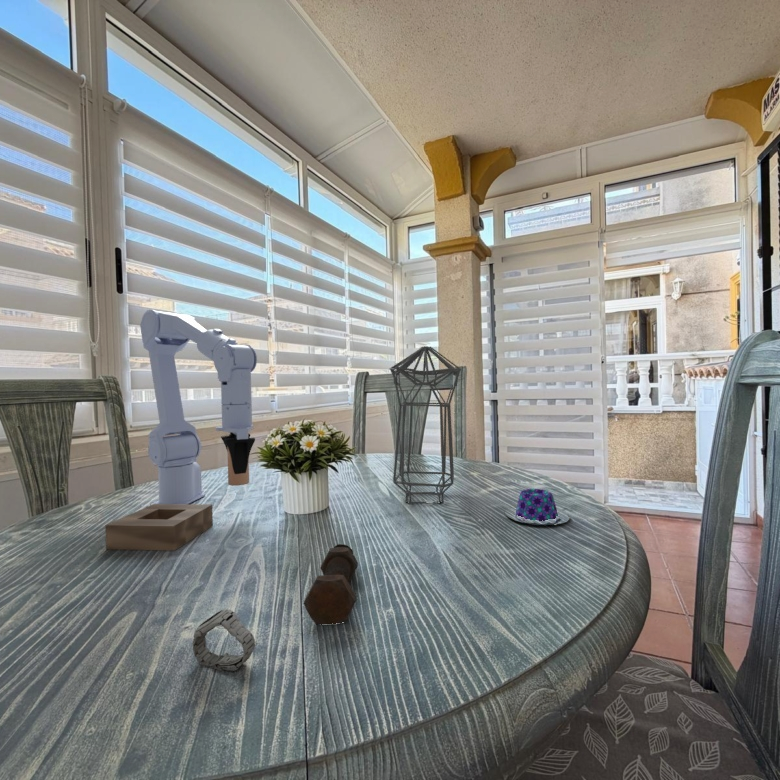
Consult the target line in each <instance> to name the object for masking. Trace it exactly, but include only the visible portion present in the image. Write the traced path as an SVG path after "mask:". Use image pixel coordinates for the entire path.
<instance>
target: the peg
mask: <svg viewBox="0 0 780 780" xmlns="http://www.w3.org/2000/svg"><path fill="white" fill-rule="evenodd" d="M226 452H227V453H226V454H227V481H228V483H227V484H228V486H234V487H236V486H237V487H238V486H245V485H247V484H249V483H250V459H248V465H247V470H246V473H241V474H235V473H234V470H233V466H232V461H231V456H230V452H229V449H228V447H227V449H226Z"/></svg>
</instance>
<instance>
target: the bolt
mask: <svg viewBox="0 0 780 780" xmlns="http://www.w3.org/2000/svg"><path fill="white" fill-rule="evenodd" d="M322 561H323V562H321V565H320V571H321V572H322V574H323V575H316V578H315V579H314V581H313V584H312V585H311V587H310V589H309V591H308V593H307V595H306V596H305V598H304V600H303V605H304V607H305V609H306V612H307V613H308V616H309V617H310V618H311V620H312V621H313V623H314V624H316V625H318V624H321V625H320V626H323V625H322V624H332V623H333V624H336V623H342V622H345V623H346V622H347V620H348V618H349V616H350V615H351V613H352V610H353V609H354V606H355V604H356V602H357V597H358V596H357V595H356V593H355V592H354V590H353V589H352V586H351V585H350V582H351V580H352V579H353V577H354V575H355V573H356V570H357V569H358V566H359V562H358V560H357V559H356V557H355V554H354V550H353V548H351V547H350V546H349V545H347V544H340V543H338V544H335V546H333V547H331V548H330V549H329V550H328V552H327V553H326V556H325V558H324V560H322Z"/></svg>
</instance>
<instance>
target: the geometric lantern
mask: <svg viewBox="0 0 780 780" xmlns="http://www.w3.org/2000/svg"><path fill="white" fill-rule="evenodd" d="M430 353H431V354H432V355H433V356H434V357H436V359H438V361H440V363H442V364H443V365H444V366H445V367H446V368H442V369H441V368H440V369H436V368H435V366H434V361H433V360H432V357H431V354H430ZM422 357H423V365H422V370H419V369H418V370H417V368H418V366H419V364H420V361H421V358H422ZM416 359H417V360H416ZM415 361H416V363H415V365H414V367H413V368H409V367H410V366H411V365H412V364H413V363H414V362H415ZM428 361H429V362H430V365H431V370H430V369H429V362H428ZM388 370H390V373H391V375H392V377H393V385H394V387H395V391H396V397H397V398H396V399H397V401H398V402H397V403H398V406H399V408H398V415H397V416H398V419H397V429H396V431H397V432H396V443H395V452H394V453H395V455H394V463H393V464H394V465H393V466H394V468H393V478H392V482H393V484H394V485H395V486H397V487H398V488H399V489H400V490H401V491H403V492H404V494H405V496H404V503H405V502H409V503H408V504H427V503H426V502H427V501H412V495H413V494H414V495H431V496H432V495H433V496H437V497H438V502H441V501H443V502H444V494H445V492H446V491H447V490H449V488H451V487H452V486H453V485H454V481H455V480H454V479H455V470H454V453H453V452H454V451H453V431H452V414H451V413H452V412H451V403H452V399H453V397H454V393H455V391H456V387H458V381H459V376H460V374H461V373H460V372H461V371H462V368H460V366H458V365H456V364H455V363H454V362H453V361H451V360H450V359H448V358H447V357H445V356H444V355H443V354H442V353H440V352H439V351H437V350H436V349H434V347H432V346H426V345H423V346H420V348H418V349H417V350H416V351H414V352H413V353H411V354H410V355H408V356H406V357H405V358H404V359H402V360H401V361H399V362H397V363H396V364H394V365H392V366H391V367H390V368H389V369H388ZM400 374H401V375H402V376H404V377H405V378H406V379H407V380H409V381H410V382H411V383H413V384H414V385H413V387H411V389H410V391H409V393H408V395H406V397H405V395H404V392H403V390H402V387H401V377H400ZM411 374H412V375H411ZM416 375H419V376H423V379H422V380H420V379H418V378H417V377H416ZM451 375H453V376H454V380H453V384H451V387H450V389H449V392H448V396H447V399H446V401H445V399H444V398H443V396H442V394H441V393H440V391H439V390H438V388H437V386H438V385H439V384H440V383H442V381H444V380H446V379H447V378H448V377H449V376H451ZM429 376H434V378H433V379H431V380H429ZM425 380H426V381H427V382H426V381H425ZM436 381H437V382H436ZM417 382H418V383H417ZM416 386H417V387H418V388H417V390H416V391H415V393H414V395H413V397H412V398H411V401H407V400H408V399H409V397H410V396H411V394H412V391H413V390H414V389H415V387H416ZM423 386H428V387H429V388H430V389H431V391H432V393H433V395H434V397H435V399H436V400H437V402H421V401H420V402H414V401H415V400H416V397H417V396H418V394H419V392H420V390H421V389H422V387H423ZM399 389H400V391H399ZM436 391H437V392H436ZM400 392H401V395H402V397H403V400H404V401H403V402H401V397H400ZM438 395H439V397H440V398H439V397H438ZM440 399H441V400H440ZM441 401H443V402H441ZM408 406H409V407H410V412H409V427H408V428H409V430H408V431H409V432H408V433H409V434H408V450H407V465H406V466H407V468H406V470H405V469H404V468H405V429H406V428H405V427H406V426H405V425H406V417H407V415H406V414H407V407H408ZM414 407H439V414H440V416H439V418H440V419H439V420H440V421H439V422H440V423H439V424H440V447H441V449H440V452H441V456H440V457H441V471H419V470H418V471H416V470H415V471H413V470H410V467H411V463H410V462H411V447H412V432H413V431H412V427H413V413H414V412H413V408H414ZM443 411H444V413H443ZM443 415H444V416H443ZM401 419H402V420H401ZM401 421H402V422H401ZM400 431H401V440H400ZM447 434H448V452H449V471H450V472H446V465H447V463H446V462H447V461H446V460H447V459H446V458H447V456H446V453H447ZM400 441H401V442H400ZM399 442H400V456H399V468H398V467H397V466H398V465H397V464H398V455H399ZM397 468H398V473H397ZM404 474H406V476H407V481H406V479H405V475H404ZM410 474H418V475H419V474H420V475H423V474H424V475H441V476H440V479H439V481H438V483H426V482H425V483H424V482H411V480H410ZM445 475H446V476H449V477H448V478H447V479H446V477H445ZM399 478H401V480H400V481H399V480H398V479H399ZM445 479H446V480H445ZM449 481H450V482H449ZM448 482H449V483H448ZM441 483H442V484H441ZM401 485H402V486H403V487H402V486H401ZM412 486H415V487H435V489H436V490H435V491H412ZM435 492H437V493H435ZM408 495H409V497H408ZM440 495H441V496H440ZM408 498H409V499H408ZM408 500H409V501H408Z"/></svg>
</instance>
